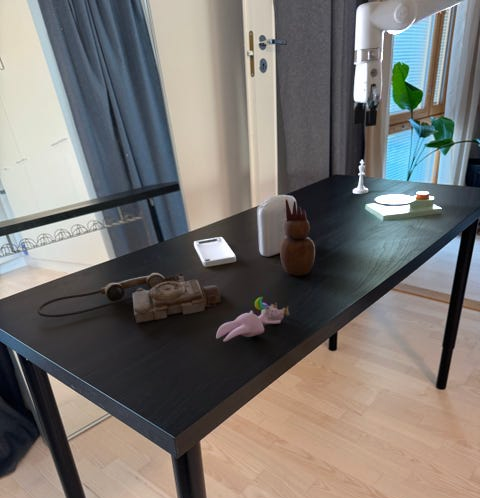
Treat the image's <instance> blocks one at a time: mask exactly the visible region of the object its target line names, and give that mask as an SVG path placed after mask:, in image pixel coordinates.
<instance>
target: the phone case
mask: <svg viewBox="0 0 480 498" xmlns="http://www.w3.org/2000/svg"><path fill="white" fill-rule="evenodd" d="M211 240H215V241H211ZM207 241H209V242H207ZM200 242H204V243H200ZM193 246H194V249H195V251H196V253H197V255H198V257H199V259H200V261H201V263H202V265H203V267H204V268H209V267H214V266H221V265H225V264H230V263H231V264H232V263H235V262H237V258H236V257H237V256H236V254H235V253H234V252H233V250H232V248H231V247H230V246H229V244H228V242H226V240H225V238H223V237H222V236H217V237H211V238H206V239H199V240H194V241H193Z"/></svg>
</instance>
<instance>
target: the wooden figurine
mask: <svg viewBox="0 0 480 498" xmlns="http://www.w3.org/2000/svg"><path fill="white" fill-rule="evenodd" d="M296 203H297V202H296ZM296 203H295V201H294V205H293V212H292V213H291V210H290V207H289V204H288V200H287V199H286V218H287V221H286V222H285V225H284V231H285V235H286V236H287V237H285V238H284V239H283V240H282V242H281V247H280V253H279V255H280V256H279V257H280V262H281V265H282V268H283V269H284V271H285V272H286V273H287V274H288V275H292V276H295V277H296V276H297V277H301V276H306V275H307V274H309V272H311V270H312V267H313V265H314V262H315V258H316V246H315V243H314V241H313V240H312V239H311V238H310V237H309V234H310V231H311V226H310V222H309V220H307V213H306V210H302V208H301V206H299V207H298V208H297V209H296Z"/></svg>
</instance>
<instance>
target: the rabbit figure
mask: <svg viewBox="0 0 480 498" xmlns="http://www.w3.org/2000/svg"><path fill="white" fill-rule="evenodd" d="M263 298H264V297H263V296H260V297H258V298H257V299H255V301H254V307H255V309H256V310H259V311H261V313H260V315H256V314H255V313H254V310H250V311H249V312H245V313H242V314H240V315H239V316H237V317H236V318H235V319H234V320H233V321H227V322H225V323H223V324H221V325H220V326H219V328H218V329H217V331H216V335H215V338H216V339H220V338H222V337H223V336H225V338H223V340H222V341H223V342H224V343H225V342H227V341H229V340H231V339H233V338H235V337H237V336H239V335H241V336H242V337H245V338H251V337H255V336H259V335H262V334H263V333H264V332H265V326H267V325H277V324H281V322H282V321H283V320H284V317H285V315H287V316H290V311H289V306H286V307H283V308H282V309H278V305H277V304H278V303H277V302H275V304H274V303H271V304H270V305H268V304H267V303H266V302H263Z"/></svg>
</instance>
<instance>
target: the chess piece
mask: <svg viewBox="0 0 480 498" xmlns="http://www.w3.org/2000/svg"><path fill="white" fill-rule="evenodd" d="M359 164H360V165H359V166H358V170H359V171H358V172H359V173H358V174H357V176H359V179H358V185H357V187H355V188H353V189H352V193H353V194H356V195H357V194H358V195H364V194H367V193H369V189H368V188H367V187H365V186H364V176H365V175H366V173H365V172H364V171H365V168H366V165H364V164H365V161H364V159H360V161H359Z"/></svg>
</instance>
